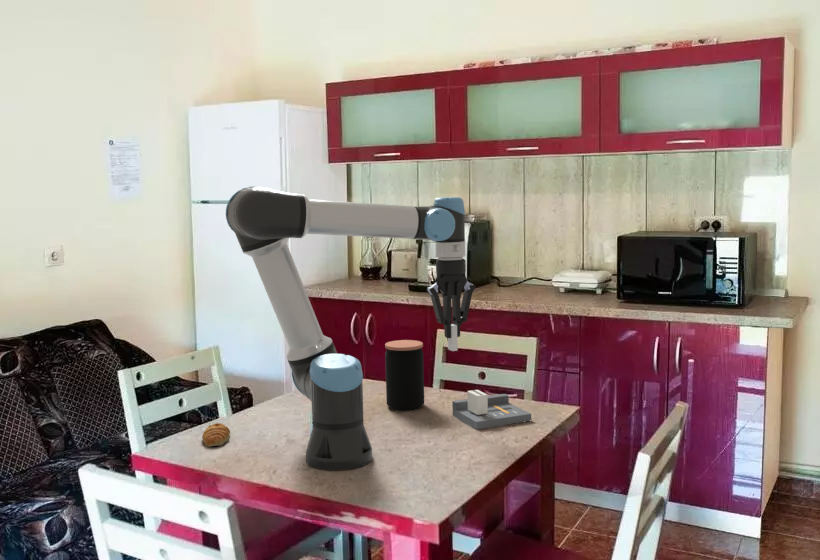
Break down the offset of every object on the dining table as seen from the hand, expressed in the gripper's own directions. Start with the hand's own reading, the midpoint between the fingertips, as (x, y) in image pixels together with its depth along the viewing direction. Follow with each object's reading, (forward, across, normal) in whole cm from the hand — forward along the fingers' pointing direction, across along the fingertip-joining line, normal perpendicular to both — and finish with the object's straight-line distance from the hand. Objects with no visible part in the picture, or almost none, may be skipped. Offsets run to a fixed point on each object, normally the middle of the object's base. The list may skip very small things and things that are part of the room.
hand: (452, 349), depth 210 cm
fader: (+17, +7, 0) cm, 19 cm away
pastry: (+20, -59, +14) cm, 63 cm away
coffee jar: (+20, -5, +21) cm, 29 cm away
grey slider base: (+20, +11, 0) cm, 22 cm away
